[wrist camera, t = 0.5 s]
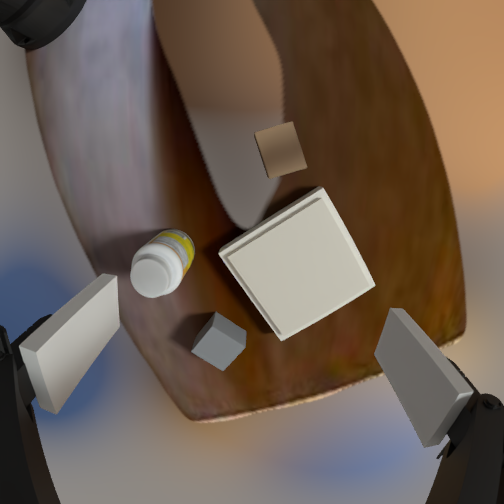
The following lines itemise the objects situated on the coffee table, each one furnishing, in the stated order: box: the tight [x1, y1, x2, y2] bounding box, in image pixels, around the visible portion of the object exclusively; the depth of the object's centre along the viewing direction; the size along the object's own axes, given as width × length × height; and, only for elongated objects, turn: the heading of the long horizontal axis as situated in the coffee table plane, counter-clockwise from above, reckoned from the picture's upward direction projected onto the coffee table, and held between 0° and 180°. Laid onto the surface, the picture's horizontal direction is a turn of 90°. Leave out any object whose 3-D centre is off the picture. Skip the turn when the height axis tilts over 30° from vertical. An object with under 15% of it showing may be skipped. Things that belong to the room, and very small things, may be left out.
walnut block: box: [254, 122, 307, 179], centre depth 32 cm, size 5×4×5 cm
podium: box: [218, 186, 376, 341], centre depth 36 cm, size 14×14×3 cm
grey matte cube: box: [191, 312, 246, 371], centre depth 39 cm, size 5×5×4 cm
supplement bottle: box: [130, 229, 195, 298], centre depth 32 cm, size 6×6×10 cm
